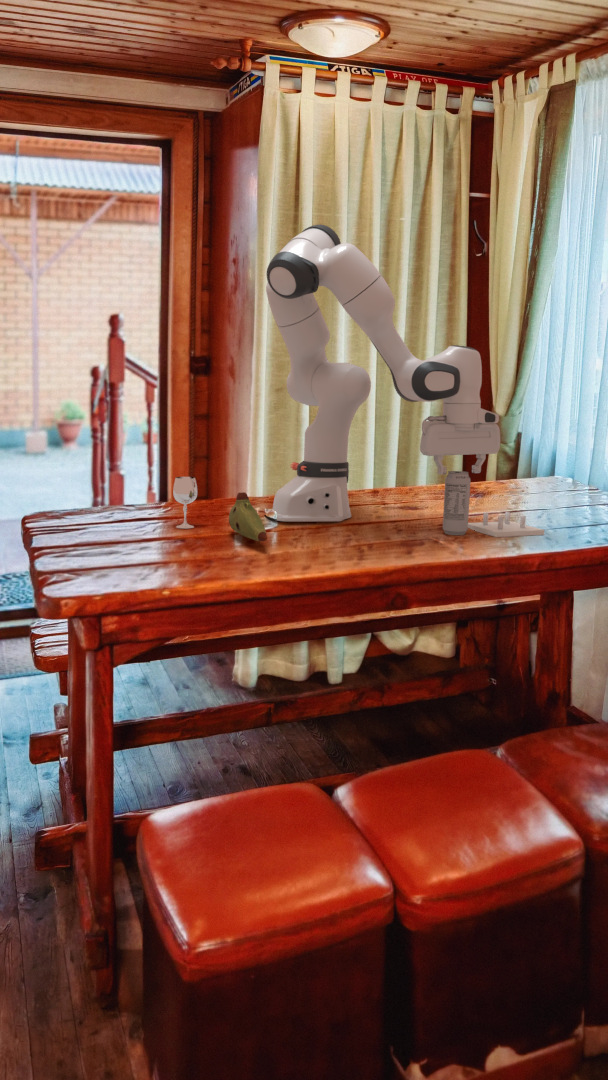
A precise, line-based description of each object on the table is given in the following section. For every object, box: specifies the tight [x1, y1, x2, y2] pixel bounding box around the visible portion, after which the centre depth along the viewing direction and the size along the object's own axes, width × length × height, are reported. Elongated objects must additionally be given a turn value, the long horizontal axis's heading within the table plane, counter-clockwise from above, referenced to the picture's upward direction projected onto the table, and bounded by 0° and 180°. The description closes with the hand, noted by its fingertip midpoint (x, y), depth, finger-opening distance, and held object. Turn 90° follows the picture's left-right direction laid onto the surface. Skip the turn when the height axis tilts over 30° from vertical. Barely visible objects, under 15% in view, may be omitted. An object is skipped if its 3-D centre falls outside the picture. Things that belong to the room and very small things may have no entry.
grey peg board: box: [468, 511, 545, 538], centre depth 224 cm, size 14×14×4 cm
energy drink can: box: [442, 470, 472, 536], centre depth 218 cm, size 6×6×15 cm
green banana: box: [228, 491, 268, 542], centre depth 206 cm, size 20×5×10 cm, turn 27°
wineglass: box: [172, 476, 198, 529], centre depth 217 cm, size 6×6×12 cm
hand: (459, 473), depth 216 cm, fingers open, 8 cm apart
